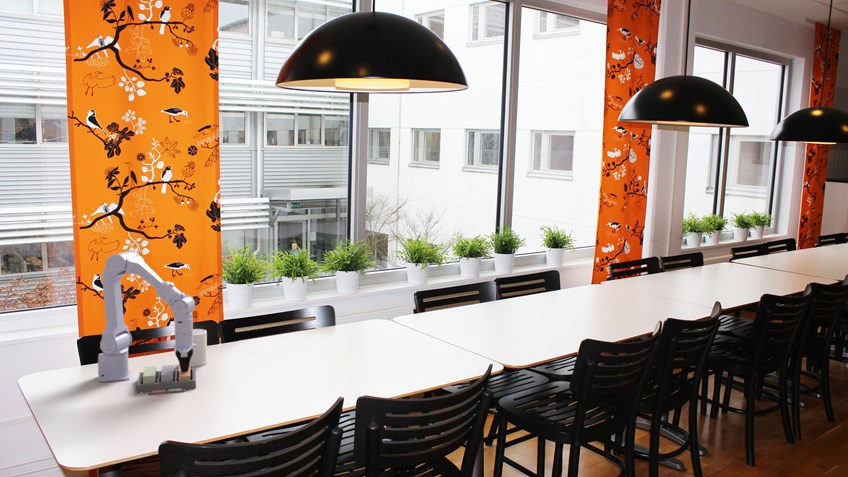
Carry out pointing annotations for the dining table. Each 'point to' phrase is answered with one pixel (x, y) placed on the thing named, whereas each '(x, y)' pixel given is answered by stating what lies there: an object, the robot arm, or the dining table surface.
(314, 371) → the dining table surface
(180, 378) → the key terracotta
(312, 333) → the dining table surface
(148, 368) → the key sage
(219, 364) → the dining table surface
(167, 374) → the key slate
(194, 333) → the mug
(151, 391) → the strip
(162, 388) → the keypad frame
